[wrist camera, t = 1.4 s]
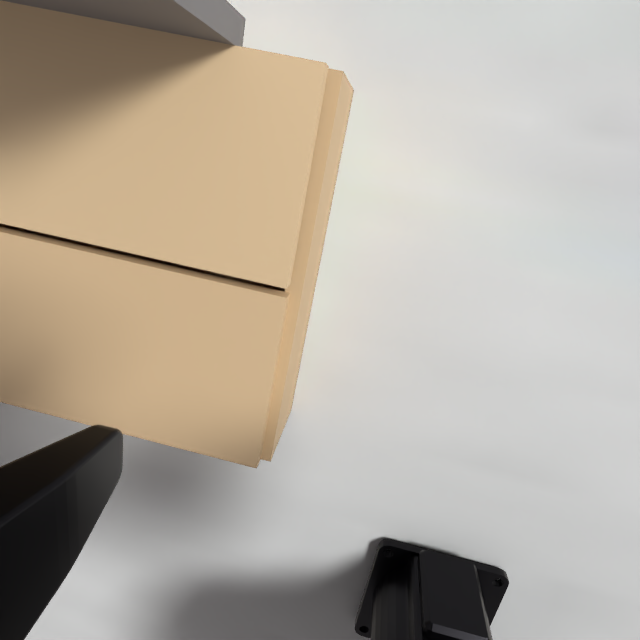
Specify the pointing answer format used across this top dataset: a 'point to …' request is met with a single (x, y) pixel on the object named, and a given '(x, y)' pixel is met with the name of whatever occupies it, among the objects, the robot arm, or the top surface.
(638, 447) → the top surface
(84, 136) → the carton flap
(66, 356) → the carton
